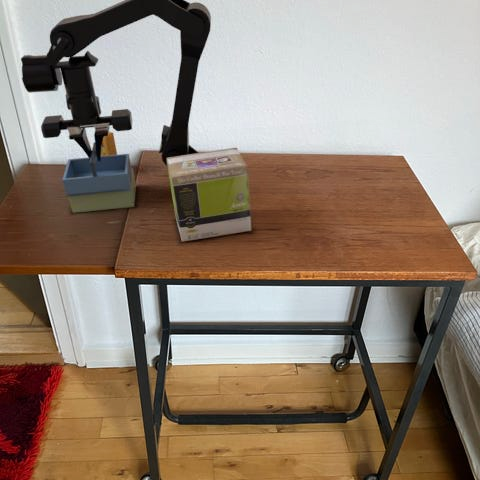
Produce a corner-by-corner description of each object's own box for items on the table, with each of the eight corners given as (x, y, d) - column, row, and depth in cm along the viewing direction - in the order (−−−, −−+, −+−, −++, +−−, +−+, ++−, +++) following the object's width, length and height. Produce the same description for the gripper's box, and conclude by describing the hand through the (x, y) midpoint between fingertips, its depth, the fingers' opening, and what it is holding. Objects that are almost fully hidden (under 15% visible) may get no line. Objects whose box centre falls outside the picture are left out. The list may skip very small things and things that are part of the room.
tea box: (241, 210, 119) (238, 145, 110) (251, 232, 112) (249, 165, 102) (174, 219, 117) (165, 155, 108) (180, 243, 110) (171, 176, 100)
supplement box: (121, 170, 138) (114, 131, 132) (112, 175, 136) (104, 136, 130) (112, 167, 140) (104, 129, 133) (103, 172, 138) (94, 134, 131)
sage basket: (135, 185, 131) (132, 168, 128) (134, 206, 123) (130, 188, 120) (78, 191, 130) (73, 173, 127) (72, 212, 122) (67, 194, 119)
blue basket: (131, 169, 128) (126, 139, 123) (130, 190, 119) (124, 158, 114) (72, 175, 127) (64, 144, 122) (66, 196, 118) (58, 165, 113)
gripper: (126, 74, 117) (138, 143, 127) (40, 81, 116) (59, 151, 126) (124, 89, 109) (137, 162, 119) (31, 98, 107) (52, 171, 118)
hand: (96, 161), depth 121 cm, fingers closed on blue basket
